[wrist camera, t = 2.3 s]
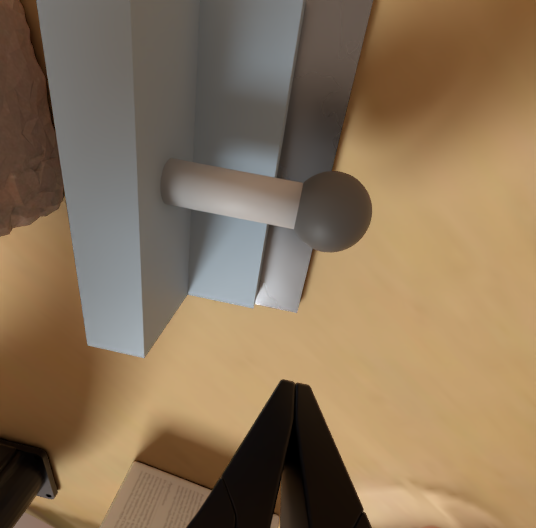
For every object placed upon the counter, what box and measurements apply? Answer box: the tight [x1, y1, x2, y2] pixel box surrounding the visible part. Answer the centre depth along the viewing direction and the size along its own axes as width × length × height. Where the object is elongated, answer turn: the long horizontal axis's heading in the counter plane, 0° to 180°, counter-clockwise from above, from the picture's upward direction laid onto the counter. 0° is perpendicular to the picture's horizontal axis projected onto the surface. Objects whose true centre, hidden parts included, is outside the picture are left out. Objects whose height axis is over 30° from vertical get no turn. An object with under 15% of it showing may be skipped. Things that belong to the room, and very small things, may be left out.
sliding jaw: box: [36, 0, 372, 358], centre depth 10 cm, size 11×8×5 cm
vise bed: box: [255, 0, 373, 313], centre depth 13 cm, size 12×10×1 cm
